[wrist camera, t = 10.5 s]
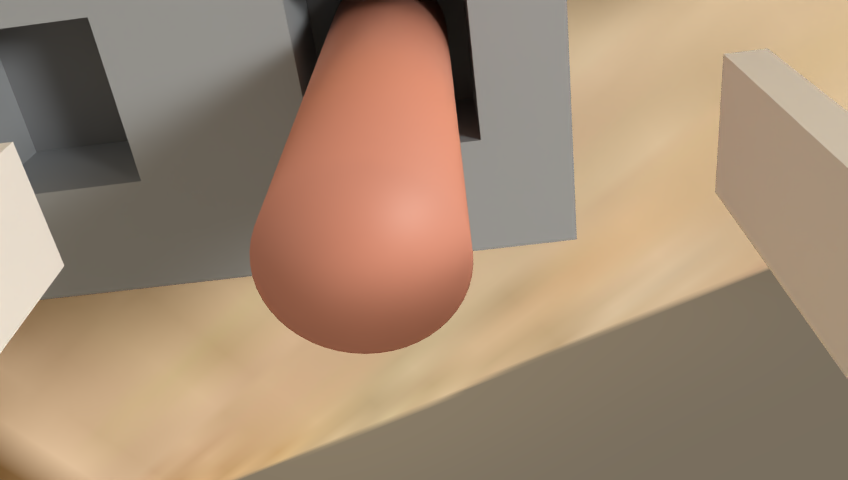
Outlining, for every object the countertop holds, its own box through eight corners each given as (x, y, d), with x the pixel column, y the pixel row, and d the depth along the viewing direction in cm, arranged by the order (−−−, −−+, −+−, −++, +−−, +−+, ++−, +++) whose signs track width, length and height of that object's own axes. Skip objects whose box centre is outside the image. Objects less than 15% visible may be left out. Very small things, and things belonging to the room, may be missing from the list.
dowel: (322, -17, 24) (225, 176, 12) (439, -32, 24) (460, 147, 12) (343, 96, 26) (276, 364, 14) (453, 82, 26) (483, 341, 14)
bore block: (-148, -107, 23) (-249, -90, 20) (536, -206, 22) (558, -207, 19) (6, 248, 29) (-51, 310, 26) (557, 184, 28) (576, 239, 25)
